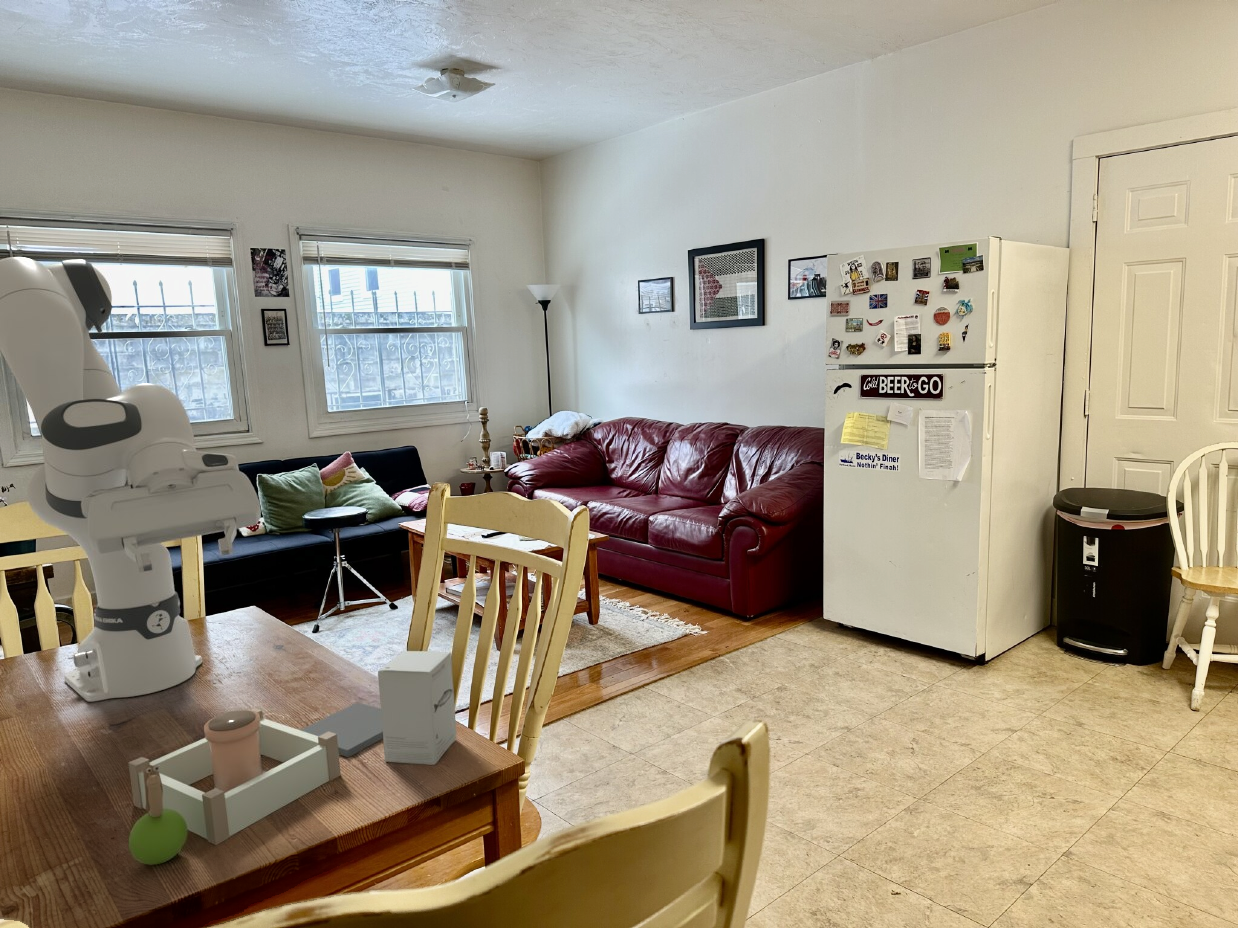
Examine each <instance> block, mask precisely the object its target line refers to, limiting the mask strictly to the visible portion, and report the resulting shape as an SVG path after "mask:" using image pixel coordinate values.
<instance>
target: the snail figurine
mask: <svg viewBox="0 0 1238 928" xmlns="http://www.w3.org/2000/svg"><path fill="white" fill-rule="evenodd" d="M157 770H159V766H157V765H156V766H153V765H149V766H147V767H146V768H145V769H144V771H143V776H144V784H145V795H146V806H145V807H146V809H145V811H146V813H145V814H143V815H142V816H141V817H140V818H138V820H136V822H135V823H134V825H133V827H132V829H131V831H130V832H129V838H128V848H129V851H130V854H132V856H133V858H135V859H136V861H138V862H140V863H142V864H146V865H159V864H163V863H166V862H167V861H169V860H172V858H173V859H174V857H176V855H177V854H178V853H179V852H180V851H181V850H182V849H183V847H184V845H185V842H186V841H187V836H188V830H187V825H186V822H185V820H184V818H183V817H182V816H181V815H180V814H179V813H178V812H176V811H174V810H171V809H163V788H162V782H161V778H160V774H159V772H158V771H157Z"/></svg>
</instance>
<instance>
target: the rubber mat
mask: <svg viewBox="0 0 1238 928" xmlns="http://www.w3.org/2000/svg"><path fill="white" fill-rule="evenodd" d="M299 730H300V731H303V732H306V733H310V734H313V735H316V736H320V735H322V734H324V733H326V732H328V731H329V732H332V733H335V734H337V741H338V752H339V756H344V757H347V758H350V757H351V756H353V755H355V754H357V753H359V752H360V751H362V750H364V749H366V748H369V747H370V746H371V745H373V744H375V743H377V742H379V741H381V740H383V729H382V717H381V708H379V707H375V706H372V705H369V704H365V703H361V702H355V703H353V704H351V705H349V706H346V707H345V708H342V709H340V710H338V711H336V712H333V713H331V714H330V715H327V716H326V717H323V718H322V719H320V720H317V721H315V722H312V724H309V725H307V726H305V727H303V728H301V729H299Z"/></svg>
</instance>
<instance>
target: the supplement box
mask: <svg viewBox="0 0 1238 928" xmlns="http://www.w3.org/2000/svg"><path fill="white" fill-rule="evenodd" d="M452 665H453V663H452V653H451V652H450V651H426V650H425V651H423V650H420V651H419V650H417V651H416V650H403V651H401V652H400V653H398V654H397V655H396V656H395V657H394V658H392V659H391V660H390V661H389V662H387V663H386V664H385V665H384V666H383V667H381V668H380V669H378V670H377V677H378V687H379V688H378V689H379V690H378V691H379V702H380V703H379V705H380V709H381V717H382V729H383V739H382V740H383V752H384V761H385V763H386V762H388V763H399V764H400V763H401V764H413V765H417V764H418V765H429V766H431V765H432V766H433V765H434V766H435V765H437V763H438V762H439V760H440V759H441V757H443V755H444V754H445V752H446V751H447V750H448V749H449V748H450V747H451V745H452V744H453V743H454V742H455V741H456V740H457V738H458V737H457V723H456V707H455V692H454V691H455V690H454V683H453V682H454V680H453V666H452Z"/></svg>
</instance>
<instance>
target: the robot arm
mask: <svg viewBox="0 0 1238 928" xmlns="http://www.w3.org/2000/svg"><path fill="white" fill-rule="evenodd" d="M112 299H113V297H112V290H111V287H110V285H109V282H108V281H107V280H106V277H105V276H104V275H103V274H102V272H100V271H99V270H98V269H97V268H95V266H93V265H92V263H91V262H89V261H87V260H85V259H66V260H65V259H64V260H62V261H61V262H58V263H52V264H51V263H50V264H46V265H44V264H42V263H40V262H38V261H37V260H35V259H31V258H28V257H22V256H12V257H11V256H10V257H6V258H5V257H4V258H2V259H0V352H1V355H2V356H3V357H4V360H5V361H6V363H7V365H8V367H9V368H10V371H11V372H12V374H13V376H14V378H15V379H16V382H17V384H18V385H19V388H20V390H21V391H22V393H23V395H24V398H25V399H26V402H27V403H28V405H29V407H30V409H31V413H32V415H33V417H34V419H35V423H36V425H37V429H38V431H39V434H40V437H41V443H42V455H43V463H44V464H41V465H39V466H37V468H36V469H35V470H34V471H33V473H32V475H31V476H30V477H29V478H30V479H29V481H28V485H27V490H26V491H27V495H26V497H27V501H28V503H29V506H30V509H32V512H33V513H34V514H35V516H36V517H38V518H39V519H40V520H42V521H43V522H44V523H46V524H47V525H49V526H52V527H54V528H56V529H58V530H60V531H62V532H64V533H65V534H67V536H69V537H71V538H72V539H73V540H74V541H75V542H76V543H77V545H79V547H81V549H82V551H83V552H84V554H85V555H86V557H87V559H88V562H89V565H90V568H91V572H92V577H93V582H94V588H95V592H96V593H95V595H96V599H97V604H94V605H93V606H92V607H93V608H95V609H94V610H93V612H94V613H93V618H94V621H93V626H94V628H92V630H91V631H90V632H89V634H88V635H87V636H86V637H85V638H84V639H83V640H82V641H81V642H80V643H79V645H78V648H77V653H75V654H73V656H72V657H73V658H72V659H73V663H74V666H75V669H72V670H71V671H69V672H67V673H66V674H64V682H65V683H67V685H68V686H70V687H71V688H72V689H73V690H74V691H75V692H76V693H78V694H79V695H80V697H82V698H83V699H84V700H85V701H86V702H98V701H104V700H108V699H115V698H116V699H117V698H118V699H119V698H129V697H135V696H142V695H143V696H144V695H148V694H151V693H155V692H160V691H162V690H166V689H169V688H172V687H174V686H176V685H179V684H181V683H183V682H185V681H187V680H188V679H190V678H191V677H192V676H193V675H194V674H195V672H196V669H197V667H198V666H200V665H201V664H202V663H203V658H202V656H201V655H198V654H197V655H196V654H195V649H194V644H193V640H192V635H191V630H190V626H189V621H188V620H187V619H185V618H183V617H181V616H180V613H181V608H180V605H181V602H180V598H179V594H178V592H177V591H175V584H174V576H173V575H174V574H173V568H172V560H171V554H170V551H169V550H168V548H167V547H166V546H165V544H163V543H166V542H170V541H171V542H172V541H177V540H183V539H187V538H188V539H189V538H194V537H198V536H199V537H200V536H204V535H209V534H215V533H221V532H223V533H224V535H225V536H224V537H222V538H219V539H218V540H217V542H218V549H219V552H220V556H221V557H224V556H229V555H234V546H233V542H234V540H235V538H236V536H237V530H238V529H242V528H247V527H248V528H249V527H254V526H256V525H257V524H258V522H259V521H260V520H261V514H262V512H261V504H260V500H259V497H258V494H257V492H256V490H255V487H254V486H253V484H252V482H251V480H250V479H249V477H248V476H247V474H245V473H244V472H242V471H240V469H239V464H238V463H239V462H238V459H237V458H236V456H235V455H232V454H228V453H213V452H207V451H206V452H205V451H200V450H197V449H196V447H195V446H194V443H195V436H194V431H193V427H192V424H191V422H190V418H189V416H188V413H187V410H186V409H185V406H184V405H183V403H182V401H181V400H180V398H179V397H178V396H177V395H176V394H175V393H174V392H173V391H171V390H170V389H168V388H166V387H165V386H162V385H159V384H156V383H140V384H134V385H131V386H129V387H127V388H126V389H124V390H123V391H122V392H121V389H120V387H119V385H118V383H117V381H116V379H115V377H114V375H113V373H112V371H111V369H110V367H109V366H108V363H107V362H106V360H105V359H104V358H103V356H102V355H101V353H100V352H99V350H98V349H97V348H96V346H95V344H94V343H93V341H92V340H91V337H90V331H91V330H92V329H93V327H94V328H95V330H96V331H97V333H98V334H101V333H102V332H103V329H102V326H103V325H104V324H105V323H106V322H107V321H108V320H109V317H110V315H111V313H112V309H113V305H112Z"/></svg>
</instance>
